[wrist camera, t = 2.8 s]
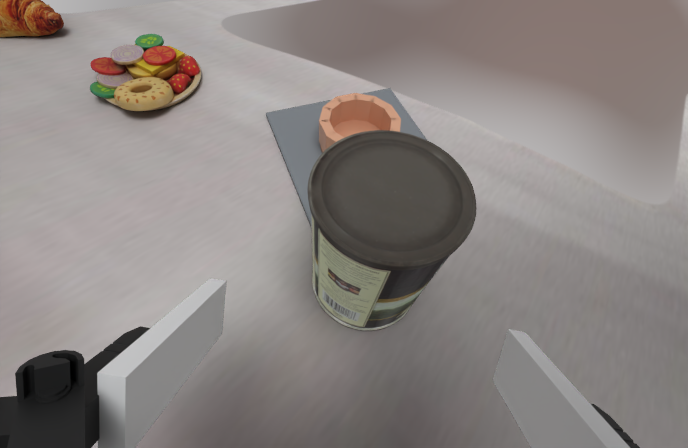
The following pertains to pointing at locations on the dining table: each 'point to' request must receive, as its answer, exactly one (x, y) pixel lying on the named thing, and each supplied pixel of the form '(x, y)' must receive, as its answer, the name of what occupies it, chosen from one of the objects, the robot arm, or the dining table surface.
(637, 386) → the dining table surface
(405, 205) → the coffee can
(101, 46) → the dining table surface
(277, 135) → the mat
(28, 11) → the croissant
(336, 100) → the bowl
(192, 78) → the toy food set
